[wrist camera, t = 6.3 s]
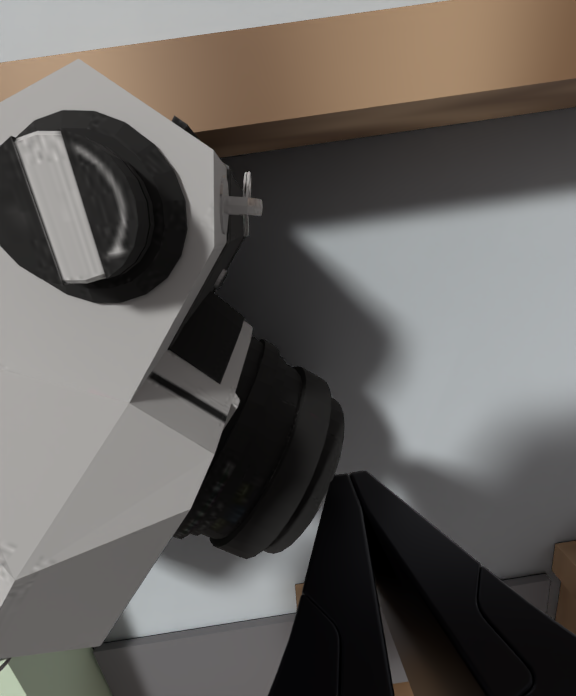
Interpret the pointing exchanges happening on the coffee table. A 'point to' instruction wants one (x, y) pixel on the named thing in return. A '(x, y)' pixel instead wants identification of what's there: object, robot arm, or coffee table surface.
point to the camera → (131, 365)
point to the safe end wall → (54, 675)
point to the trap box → (351, 92)
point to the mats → (233, 655)
